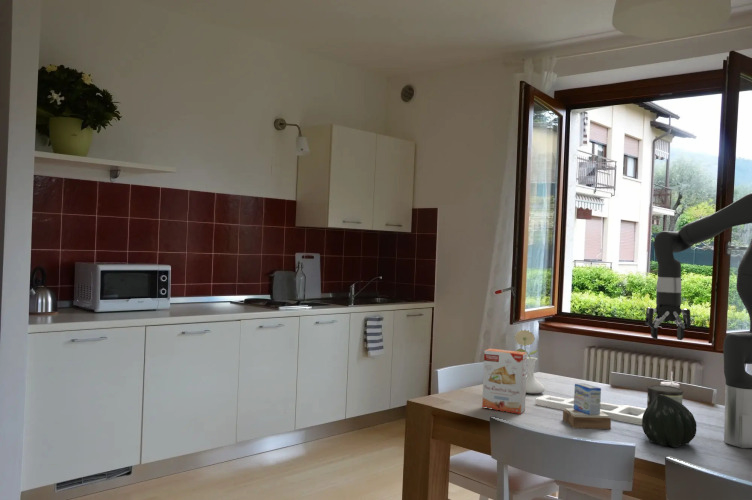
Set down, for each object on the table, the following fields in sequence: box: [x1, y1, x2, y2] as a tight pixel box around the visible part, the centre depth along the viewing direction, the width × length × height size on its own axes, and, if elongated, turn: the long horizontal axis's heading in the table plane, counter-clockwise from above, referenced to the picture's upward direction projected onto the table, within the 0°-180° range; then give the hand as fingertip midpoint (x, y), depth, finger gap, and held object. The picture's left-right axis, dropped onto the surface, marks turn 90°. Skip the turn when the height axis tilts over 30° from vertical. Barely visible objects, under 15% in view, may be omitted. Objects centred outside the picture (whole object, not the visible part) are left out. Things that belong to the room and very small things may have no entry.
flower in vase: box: [514, 329, 546, 394], centre depth 253 cm, size 13×11×25 cm
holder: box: [534, 394, 646, 426], centre depth 224 cm, size 45×18×3 cm, turn 49°
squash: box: [641, 394, 697, 448], centre depth 186 cm, size 14×15×15 cm
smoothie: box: [659, 371, 680, 388], centre depth 230 cm, size 6×6×14 cm
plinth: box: [562, 408, 612, 430], centre depth 205 cm, size 10×12×4 cm
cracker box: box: [481, 347, 528, 415], centre depth 221 cm, size 14×6×21 cm, turn 62°
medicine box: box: [573, 382, 602, 415], centre depth 205 cm, size 8×4×9 cm, turn 22°
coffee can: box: [646, 384, 684, 408], centre depth 198 cm, size 10×10×14 cm
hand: (667, 339), depth 209 cm, fingers open, 8 cm apart
